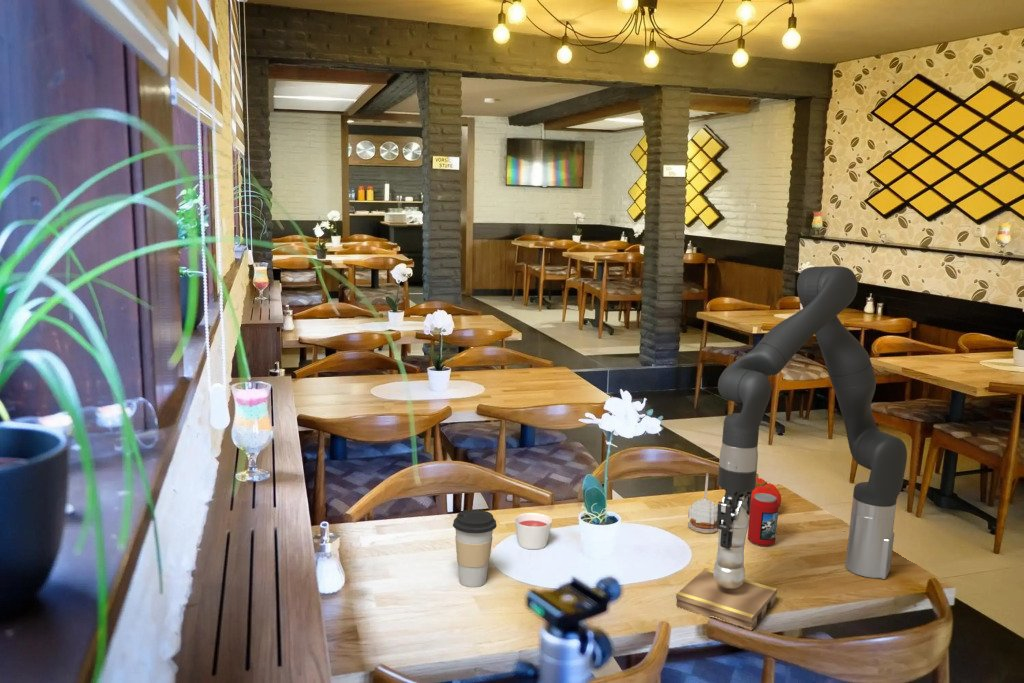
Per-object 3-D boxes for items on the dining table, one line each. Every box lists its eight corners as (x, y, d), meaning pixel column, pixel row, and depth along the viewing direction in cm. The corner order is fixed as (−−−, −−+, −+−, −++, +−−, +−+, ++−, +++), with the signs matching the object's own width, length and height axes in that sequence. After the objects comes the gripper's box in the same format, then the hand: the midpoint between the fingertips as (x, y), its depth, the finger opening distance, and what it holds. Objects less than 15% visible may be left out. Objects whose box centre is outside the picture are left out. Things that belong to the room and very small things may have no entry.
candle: (557, 548, 199) (558, 523, 198) (523, 554, 195) (524, 529, 194) (540, 535, 207) (541, 511, 206) (507, 540, 203) (508, 515, 202)
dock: (775, 602, 176) (777, 588, 175) (750, 632, 163) (751, 617, 162) (704, 580, 185) (705, 567, 184) (675, 607, 172) (676, 593, 171)
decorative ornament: (716, 524, 218) (721, 470, 216) (719, 536, 211) (724, 479, 208) (686, 521, 219) (691, 467, 217) (688, 533, 212) (693, 477, 209)
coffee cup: (446, 574, 183) (447, 510, 180) (486, 569, 186) (488, 506, 184) (458, 593, 174) (460, 526, 172) (500, 588, 177) (503, 521, 175)
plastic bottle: (747, 583, 174) (755, 493, 171) (738, 595, 169) (746, 502, 165) (717, 575, 178) (724, 486, 174) (708, 587, 172) (715, 495, 169)
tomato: (774, 523, 220) (776, 493, 219) (728, 513, 227) (730, 483, 225) (785, 509, 231) (788, 480, 230) (741, 500, 237) (743, 471, 236)
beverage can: (769, 550, 203) (773, 503, 201) (743, 542, 207) (747, 497, 205) (779, 542, 208) (783, 496, 206) (753, 534, 212) (757, 490, 210)
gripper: (743, 477, 161) (737, 558, 163) (767, 460, 172) (760, 536, 175) (707, 469, 165) (701, 548, 168) (732, 453, 177) (726, 527, 179)
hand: (731, 541), depth 171 cm, fingers closed on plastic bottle, 6 cm apart
